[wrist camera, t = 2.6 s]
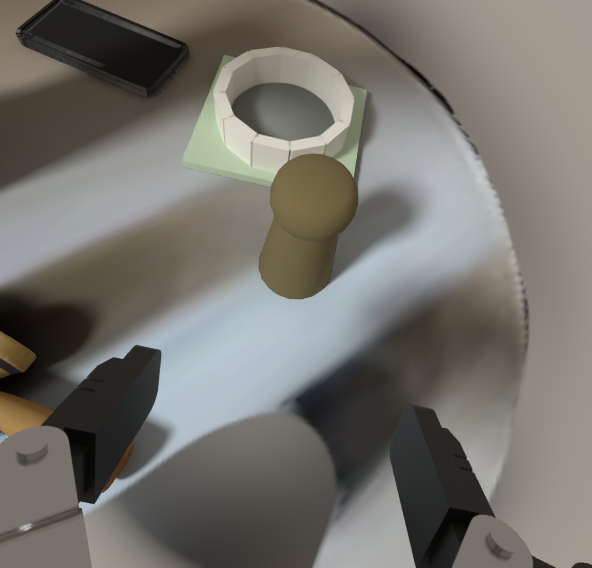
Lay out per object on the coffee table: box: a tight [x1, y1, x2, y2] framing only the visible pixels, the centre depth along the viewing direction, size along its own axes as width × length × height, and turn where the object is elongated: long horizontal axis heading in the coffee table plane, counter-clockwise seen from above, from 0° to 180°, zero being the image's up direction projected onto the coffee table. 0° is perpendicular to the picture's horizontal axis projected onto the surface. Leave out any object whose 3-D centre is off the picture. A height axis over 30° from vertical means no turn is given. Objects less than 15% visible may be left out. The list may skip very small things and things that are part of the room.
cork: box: [259, 153, 358, 299], centre depth 25 cm, size 6×6×11 cm
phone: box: [16, 0, 189, 98], centre depth 37 cm, size 8×1×15 cm
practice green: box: [182, 47, 367, 187], centre depth 34 cm, size 15×14×4 cm
